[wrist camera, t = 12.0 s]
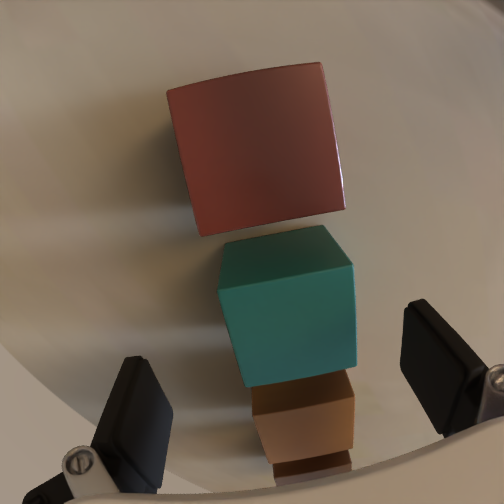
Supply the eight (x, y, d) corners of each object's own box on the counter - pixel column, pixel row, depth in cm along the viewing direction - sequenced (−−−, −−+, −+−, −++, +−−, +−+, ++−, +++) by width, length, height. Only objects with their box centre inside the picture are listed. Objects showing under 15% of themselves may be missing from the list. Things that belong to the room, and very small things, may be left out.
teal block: (244, 325, 18) (244, 388, 13) (224, 243, 16) (215, 290, 11) (332, 309, 18) (357, 366, 13) (323, 224, 16) (354, 264, 11)
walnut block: (278, 455, 23) (283, 504, 18) (269, 422, 21) (273, 478, 16) (337, 444, 23) (349, 492, 18) (336, 409, 21) (352, 463, 16)
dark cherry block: (213, 204, 15) (199, 238, 11) (191, 103, 14) (165, 90, 9) (316, 185, 15) (347, 210, 10) (297, 83, 13) (322, 61, 9)
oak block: (264, 405, 20) (268, 464, 16) (250, 352, 19) (252, 415, 14) (336, 392, 20) (353, 448, 15) (333, 337, 18) (355, 396, 14)
